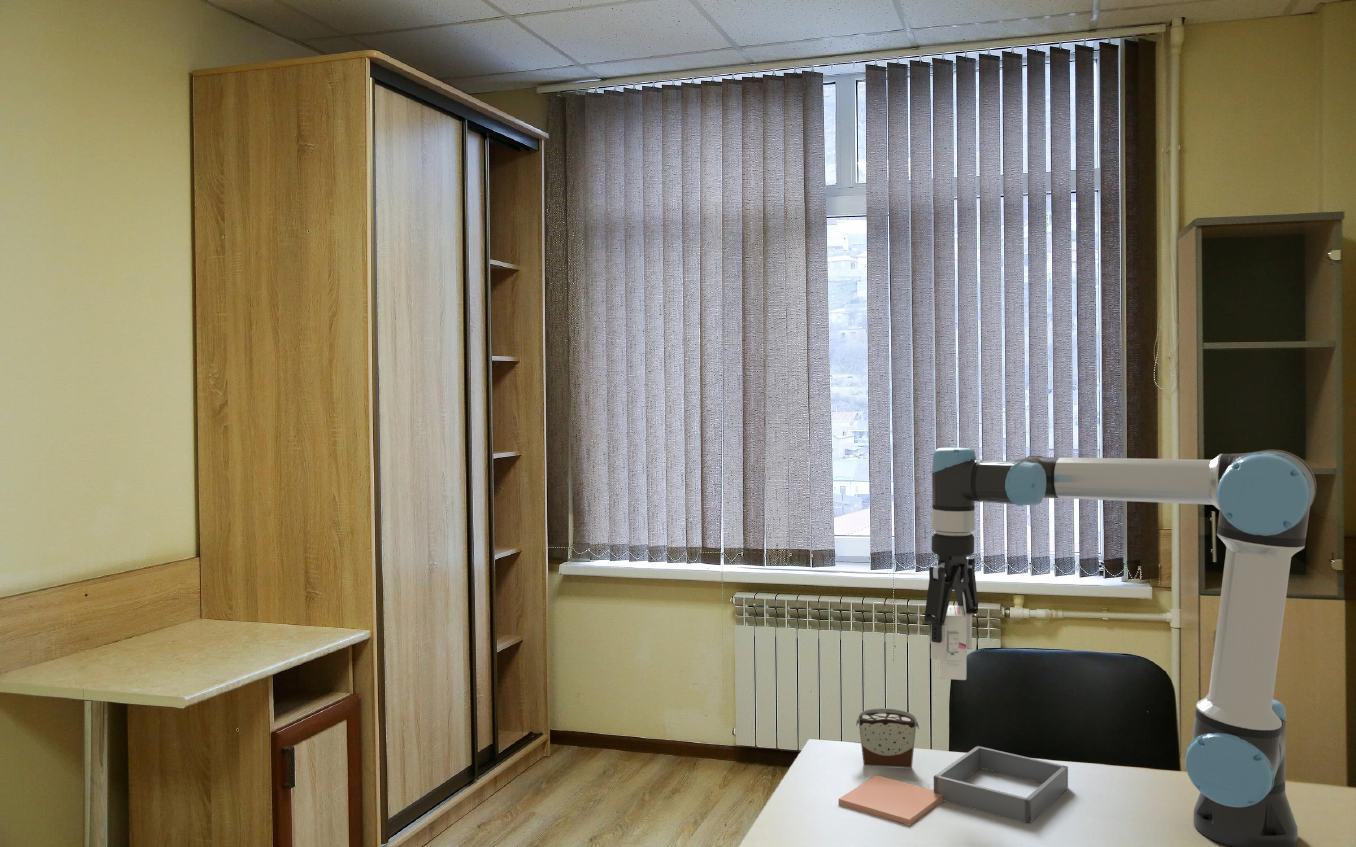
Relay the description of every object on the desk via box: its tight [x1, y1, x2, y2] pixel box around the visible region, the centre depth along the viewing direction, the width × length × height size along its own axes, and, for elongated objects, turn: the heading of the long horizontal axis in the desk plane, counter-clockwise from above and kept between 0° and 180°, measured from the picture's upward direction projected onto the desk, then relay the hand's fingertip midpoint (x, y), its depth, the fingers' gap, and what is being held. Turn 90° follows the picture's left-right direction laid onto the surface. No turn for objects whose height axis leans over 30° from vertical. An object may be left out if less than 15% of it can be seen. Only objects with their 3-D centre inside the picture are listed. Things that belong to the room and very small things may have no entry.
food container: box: [855, 707, 920, 769], centre depth 198 cm, size 12×6×10 cm, turn 80°
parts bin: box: [933, 745, 1069, 824], centre depth 182 cm, size 18×20×4 cm
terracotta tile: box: [838, 774, 944, 826], centre depth 179 cm, size 14×14×1 cm
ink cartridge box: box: [937, 592, 968, 681], centre depth 180 cm, size 9×5×15 cm, turn 167°
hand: (951, 653), depth 180 cm, fingers closed on ink cartridge box, 10 cm apart
